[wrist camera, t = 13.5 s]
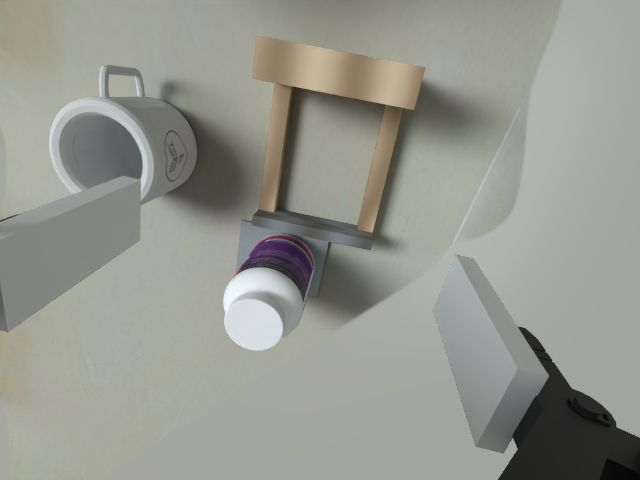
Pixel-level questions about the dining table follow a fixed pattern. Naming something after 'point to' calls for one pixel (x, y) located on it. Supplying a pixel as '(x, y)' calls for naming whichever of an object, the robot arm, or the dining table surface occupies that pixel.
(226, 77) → the dining table surface
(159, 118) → the mug
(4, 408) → the dining table surface
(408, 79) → the wooden bottle holder
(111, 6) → the dining table surface
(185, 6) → the dining table surface
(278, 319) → the pill bottle
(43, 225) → the robot arm
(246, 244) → the mat
